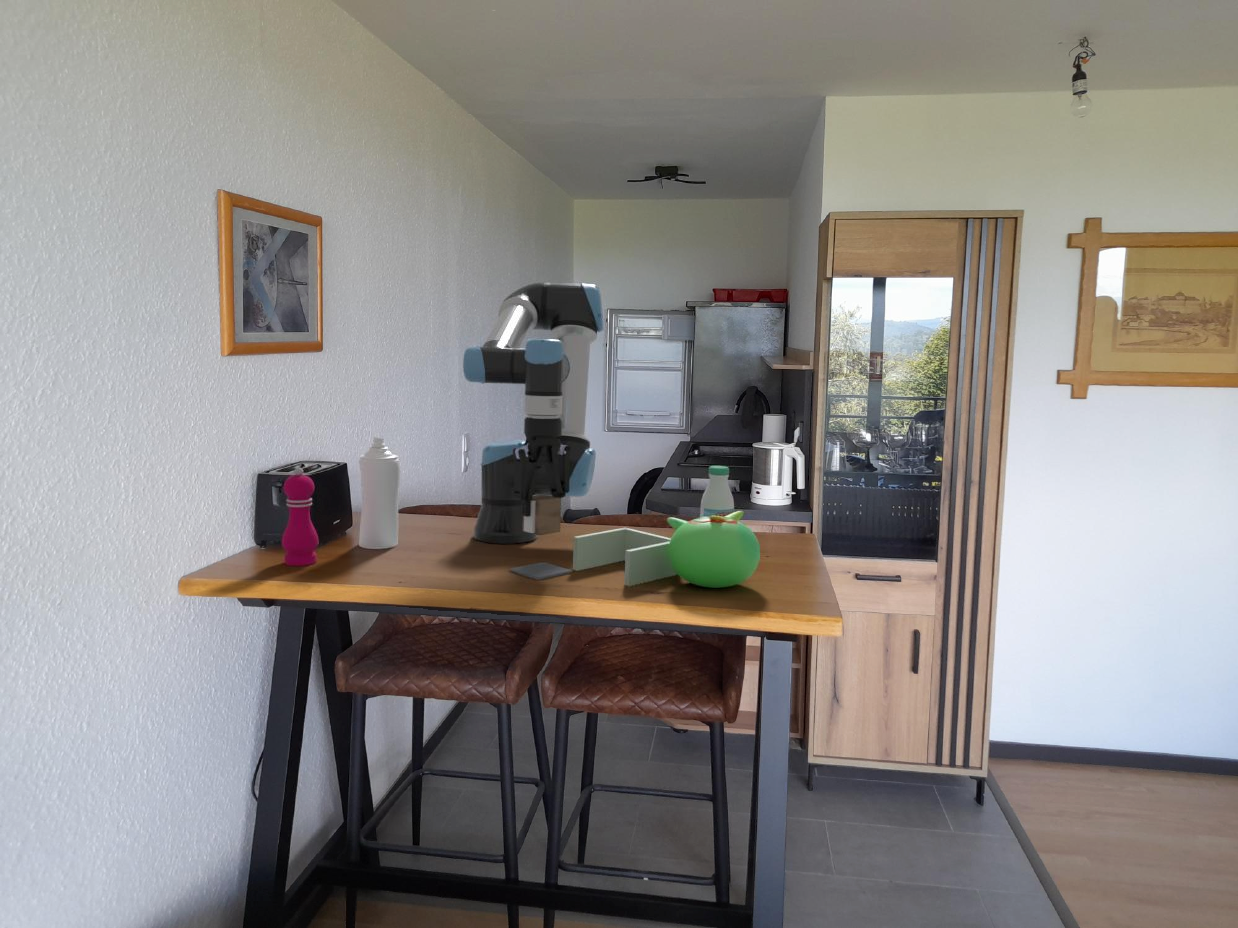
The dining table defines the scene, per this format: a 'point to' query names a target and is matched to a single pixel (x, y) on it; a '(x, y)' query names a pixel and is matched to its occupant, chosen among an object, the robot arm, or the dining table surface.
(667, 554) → the u-shaped panel enclosure
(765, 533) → the dining table surface
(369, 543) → the spray can
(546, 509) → the walnut block
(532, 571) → the coaster
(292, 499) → the pepper mill
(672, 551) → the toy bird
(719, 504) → the milk bottle
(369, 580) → the dining table surface
